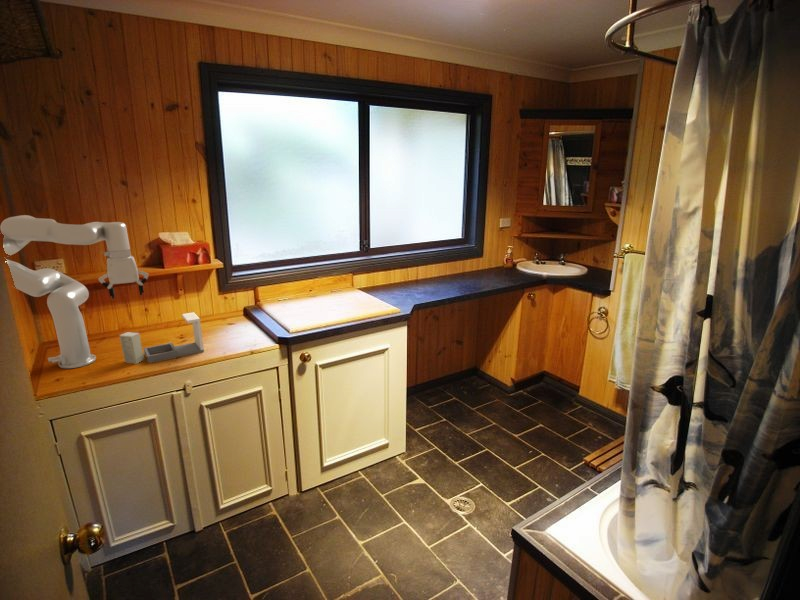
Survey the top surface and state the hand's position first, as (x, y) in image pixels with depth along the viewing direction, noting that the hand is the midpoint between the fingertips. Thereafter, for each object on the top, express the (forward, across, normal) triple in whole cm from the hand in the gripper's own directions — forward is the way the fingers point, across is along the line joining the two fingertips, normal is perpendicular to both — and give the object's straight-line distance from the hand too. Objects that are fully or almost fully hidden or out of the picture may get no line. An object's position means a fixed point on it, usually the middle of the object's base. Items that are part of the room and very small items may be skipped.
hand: (127, 296), depth 182 cm
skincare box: (+27, -2, -3) cm, 28 cm away
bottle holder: (+27, +13, -1) cm, 30 cm away
